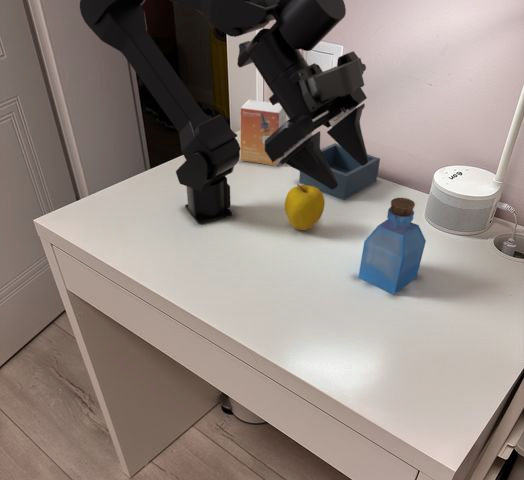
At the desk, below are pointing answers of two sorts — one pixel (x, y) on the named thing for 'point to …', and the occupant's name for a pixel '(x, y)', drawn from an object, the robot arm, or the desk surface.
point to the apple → (304, 206)
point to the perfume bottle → (393, 249)
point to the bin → (345, 173)
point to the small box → (258, 129)
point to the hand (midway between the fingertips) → (351, 175)
